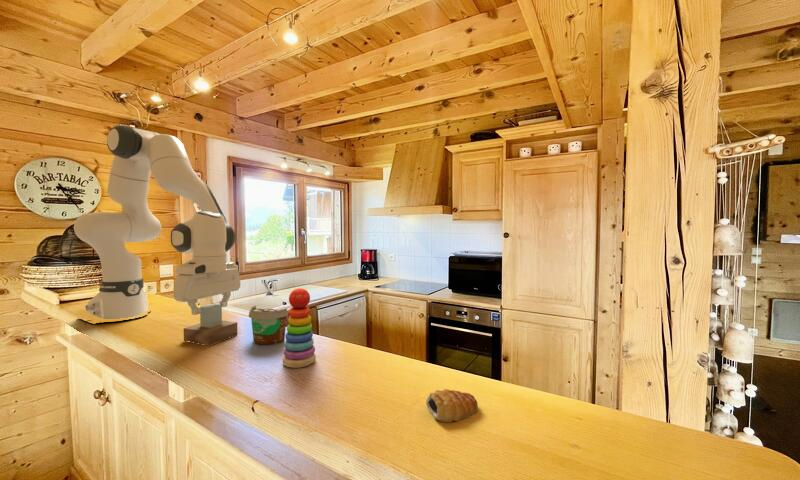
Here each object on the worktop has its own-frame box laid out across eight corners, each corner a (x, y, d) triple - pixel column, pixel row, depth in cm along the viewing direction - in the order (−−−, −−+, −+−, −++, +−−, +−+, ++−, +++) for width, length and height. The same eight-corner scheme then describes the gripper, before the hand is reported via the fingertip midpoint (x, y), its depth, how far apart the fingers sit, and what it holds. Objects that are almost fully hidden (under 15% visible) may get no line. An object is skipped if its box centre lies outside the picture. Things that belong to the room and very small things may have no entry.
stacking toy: (275, 364, 79) (274, 289, 78) (299, 353, 86) (299, 284, 85) (299, 371, 75) (298, 292, 74) (322, 359, 82) (322, 287, 81)
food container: (239, 344, 92) (238, 310, 92) (254, 337, 98) (254, 305, 98) (274, 349, 89) (274, 313, 88) (288, 341, 95) (288, 308, 94)
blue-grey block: (200, 326, 96) (200, 306, 96) (212, 322, 100) (211, 303, 100) (210, 327, 95) (210, 307, 95) (221, 324, 98) (221, 304, 98)
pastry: (465, 398, 64) (466, 379, 64) (486, 417, 58) (486, 396, 58) (423, 407, 61) (423, 387, 61) (439, 428, 54) (440, 406, 54)
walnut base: (183, 341, 94) (183, 328, 94) (213, 331, 104) (213, 319, 104) (209, 345, 91) (209, 332, 91) (237, 334, 101) (237, 322, 100)
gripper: (230, 261, 107) (230, 302, 108) (169, 268, 88) (169, 317, 89) (245, 262, 105) (245, 303, 106) (186, 269, 86) (186, 320, 87)
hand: (210, 310), depth 97 cm, fingers open, 8 cm apart
